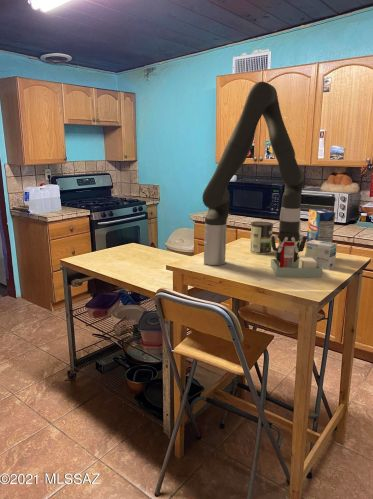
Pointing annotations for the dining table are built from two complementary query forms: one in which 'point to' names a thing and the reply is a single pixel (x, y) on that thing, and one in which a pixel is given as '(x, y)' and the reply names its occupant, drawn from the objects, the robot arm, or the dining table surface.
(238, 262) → the dining table surface
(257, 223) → the coffee can
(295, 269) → the tote
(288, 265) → the soda can
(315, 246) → the light bulb box
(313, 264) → the cream white block
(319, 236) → the beverage box
